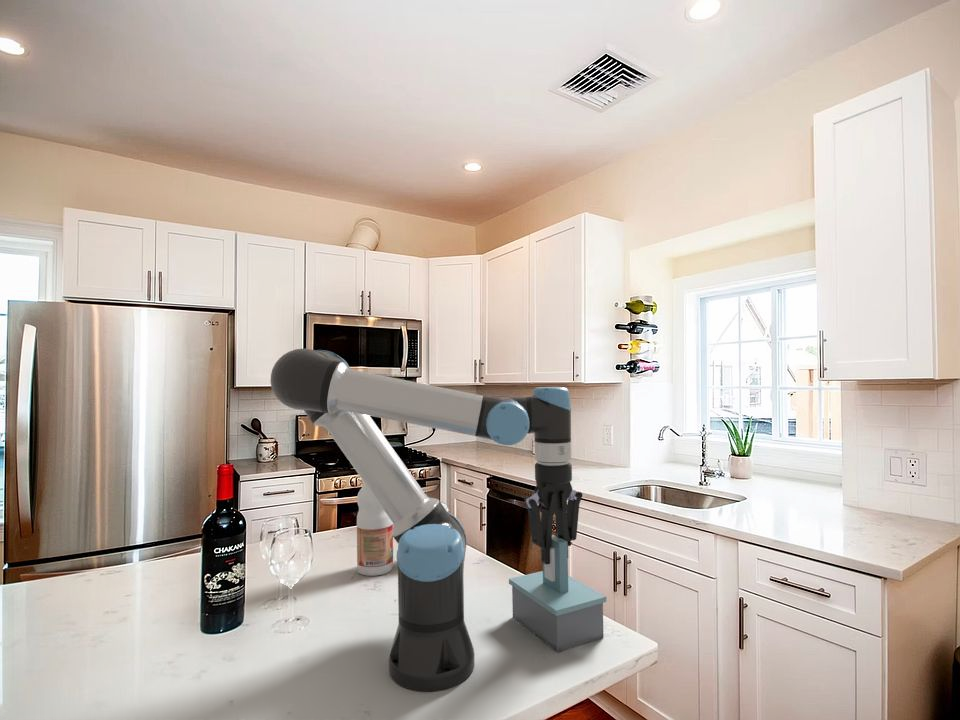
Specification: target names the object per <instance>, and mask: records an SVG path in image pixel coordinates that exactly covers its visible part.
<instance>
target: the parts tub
mask: <svg viewBox="0 0 960 720" xmlns="http://www.w3.org/2000/svg"><path fill="white" fill-rule="evenodd" d="M511 590H512V592H511V593H512V594H511V596H512V597H511V598H512V600H511V601H512V603H511V604H512V618H513V619H514V620H515V621H517V622H518V623H519V624H521V625H523V627H525V628H526V629H527V630H528V631H529V632H531V633H532V634H534V635H535V636H536V637H538V639H540V640H541V641H542V642H544V643H545V644H547V645H548V646H549V647H550V648H551V649H552V650H554V651H555V652H556V653H560V652H564V651H566V650H569V649H574V648H577V647H579V646H581V645H585V644H587V643H591V642H593V641H594V642H595V641H597V640H600V639H603V638H604V603H600V604H597V605H593V606H590V607H586V608H583V609H579V610H576V611H572V612H569V613H565V614H562V615H558V616H555V615H554V614H553V613H551V612H550V611H548V610H547V609H545V608H544V607H542V606H541V605H539V604H538V603H537V602H535V601H534V600H532V599H531V598H529V597H528V596H526V595H525V594H523V593H522V592H521V591H519V590H518V589H516V588H515V587H513V586H512V585H511Z"/></svg>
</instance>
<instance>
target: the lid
mask: <svg viewBox="0 0 960 720" xmlns="http://www.w3.org/2000/svg"><path fill="white" fill-rule="evenodd" d="M551 547H553V548H555V581H553V582H552V581H550V580H548V579H547V578H545V577H544V563H542V570H541V571H536V572H532V573H529V574H525V575H519V576H516V577H511V578H508V584H509V585H510V586H511V587H512V586H513V587H515V588H516V589H518V590H519V591H521V592H522V593H523V594H525V595H526V596H528V597H529V598H531V599H532V600H534V601H535V602H537V603H538V604H539V605H541V606H542V607H544V608H545V609H547V610H548V611H550V612H551V613H553V614H554V615H555V616H558V615H562V614H565V613H569V612H572V611H576V610H579V609H583V608H586V607H590V606H593V605H597V604H600V603H603V604H604V603H607V596H606V595H604V594H603V593H601V592H599V591H597V590H595V589H594V588H592V587H591V586H588V585H586V584H585V583H583V582H581V581H579V580H577V579H575V578H573V577H572V576H570V575H569V546H568V542H567V541H566V540H563V539H561V538H559V537H558V536H557V535H554V534H553V533H552V543H551Z"/></svg>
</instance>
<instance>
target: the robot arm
mask: <svg viewBox="0 0 960 720" xmlns="http://www.w3.org/2000/svg"><path fill="white" fill-rule="evenodd" d="M270 373H271V374H270V386H271V390H272V393H274V395H275V397H276V398H277V400H278V401H279V402H280V403H282V404H283V405H285V406H286V407H289V408H291V409H294V410H299V411H303V412H304V413H305V414H306V416H307V417H308V419H309V420H310V421H311V423H312V424H313V425H314V426H315V427H322V428H324V429H326V430H327V432H328V433H329V434H330V436H331V437H332V439H333V441H334V442H335V443H336V444H337V446H338V447H339V449H340V450H341V452H342V453H343V454H344V456H345V457H346V459H347V460H348V461H349V463H350V464H351V466H352V467H353V469H354V470H355V472H356V473H357V474H358V476H359V477H360V479H362V481H363V484H364V483H365V484H366V485H367V487H368V488H369V490H370V491H371V493H372V494H373V495H374V497H375V498H376V500H377V501H378V502H379V504H380V505H381V507H382V508H383V510H384V511H385V512H386V514H387V515H388V517H389V518H390V519H391V521H392V522H393V531H392V536H393V540H395V541H396V543H397V551H396V561H397V586H398V587H397V589H398V591H397V593H398V594H397V597H398V599H397V601H398V608H397V609H398V624H397V629H396V632H395V634H394V639H393V642H392V645H391V648H390V651H389V657H388V672H389V675H390V678H391V679H392V680H393V681H394V682H395V683H396V684H398V685H399V686H401V687H402V688H403V687H404V688H406V689H410V690H413V691H420V692H423V691H424V692H432V691H433V692H435V691H441V690H445V689H449V688H452V687H454V686H457V685H458V684H461V683H462V682H463V681H465V680H467V678H469V677H470V676H471V674H472V673H473V671H474V669H475V649H474V646H473V642H472V640H471V637H470V633H469V631H468V628H467V625H466V622H465V607H464V606H465V604H464V603H465V600H464V598H465V597H464V596H465V595H464V594H465V593H464V588H465V587H464V570H465V557H466V551H467V550H466V549H467V537H466V536H467V535H466V532H465V531H466V530H464V527H463V525H462V523H461V521H460V520H459V519H458V518H457V517H456V516H455V515H453V514H451V513H450V512H449V513H448V512H447V511H446V509H445V508H444V507H443V505H442V504H441V502H442V501H440V500H439V499H438V498H434V497H429V496H428V495H427V494H426V493H425V492H424V490H423V489H422V487H421V485H420V484H419V483H418V482H417V480H416V478H415V477H414V476H413V474H412V473H411V472H410V470H409V469H408V467H407V466H406V464H405V463H404V461H403V460H402V459H401V458H400V456H399V455H398V453H397V452H396V451H395V449H394V448H393V447H392V445H391V444H390V442H389V441H388V439H387V438H386V436H385V435H384V434H383V432H382V431H381V429H380V428H379V426H378V425H377V424H376V422H375V421H374V419H373V418H372V417H374V418H381V419H385V420H391V421H396V422H399V423H400V422H401V423H407V424H412V425H416V426H422V427H426V428H427V427H428V428H431V429H437V430H441V431H447V432H452V433H457V434H463V435H466V436H467V435H468V436H473V437H478V438H482V439H485V440H491V441H494V442H496V443H497V444H499V445H503V446H513V445H516V444H519V443H520V442H521V441H523V440H524V439H525V438H526V437H527V435H528V434H534V438H533V439H534V449H533V450H534V452H533V453H534V460H535V461H536V462H535V464H534V480H535V482H536V483H535V484H536V486H535V489H534V493H533V494H532V495H530V497H528V496H526V497H524V499H523V502H524V504H525V506H526V508H527V512H528V518H529V519H528V521H529V530H530V536H531V541H532V542H531V543H532V544H534V545H535V546H537V547H538V548H539V547H540V554H541V556H540V557H541V558H540V559H541V563H542V564H543V563H544V577H545V578H547V579H548V580H550V581H552V582H553V581H555V548H553V547H551V543H552V534H553V528H554V527H553V523H554V516H555V525H556V536H557V537H559V538H561V539H563V540H566V541H567V542H568V547H571V546H572V545H573V542H572V541H576V540H577V536H578V525H579V524H578V523H579V522H578V521H579V514H580V513H579V512H580V503H581V501H582V498H583V493H582V492H581V491H577V490H575V489H573V486H572V484H571V482H572V481H573V473H572V472H573V467H572V464H571V461H572V418H571V417H572V408H571V398H570V397H571V396H570V395H571V394H570V391H569V390H568V388H567V387H564V386H543V387H542V386H538V387H534V389H533V394H532V396H526V397H517V396H514V397H509V396H508V397H507V396H505V397H504V396H503V397H502V396H501V397H496V396H486V395H485V396H484V395H481V394H476V393H470V392H466V391H461V390H456V389H452V388H446V387H441V386H436V385H431V384H428V383H427V384H425V383H421V382H416V381H412V380H408V379H407V380H406V379H402V378H397V377H390V376H386V375H382V374H377V373H373V372H365V371H361V370H358V369H357V370H356V369H351V367H350V366H349V363H348V362H347V361H346V360H345V359H344V358H342V357H341V356H339V355H338V354H336V353H334V352H332V351H329V350H326V349H325V350H323V349H316V350H315V349H309V348H295V349H292V350H290V351H288V352H286V353H284V354H283V355H281V356H280V357H279V358H278V360H277V361H276V362H275V363H274V365H273V367H272V370H271V372H270ZM539 502H540V503H539ZM539 505H540V508H539ZM540 512H541V513H540Z"/></svg>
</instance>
